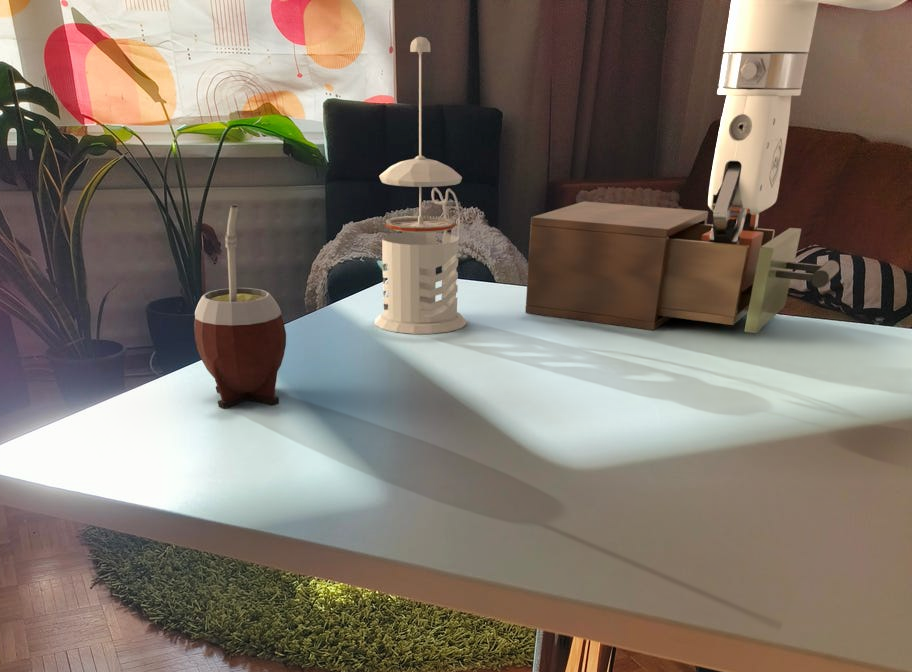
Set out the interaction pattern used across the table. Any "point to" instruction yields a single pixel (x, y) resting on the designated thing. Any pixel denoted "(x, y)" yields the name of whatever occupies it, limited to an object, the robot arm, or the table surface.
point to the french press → (420, 249)
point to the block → (754, 248)
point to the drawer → (732, 277)
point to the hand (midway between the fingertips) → (725, 280)
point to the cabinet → (602, 262)
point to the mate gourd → (240, 336)
